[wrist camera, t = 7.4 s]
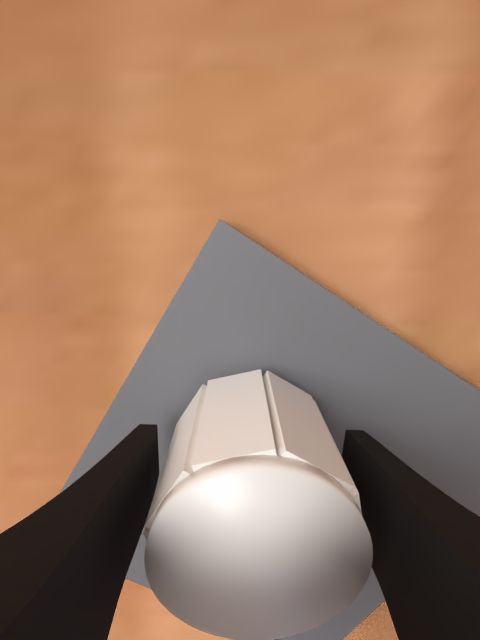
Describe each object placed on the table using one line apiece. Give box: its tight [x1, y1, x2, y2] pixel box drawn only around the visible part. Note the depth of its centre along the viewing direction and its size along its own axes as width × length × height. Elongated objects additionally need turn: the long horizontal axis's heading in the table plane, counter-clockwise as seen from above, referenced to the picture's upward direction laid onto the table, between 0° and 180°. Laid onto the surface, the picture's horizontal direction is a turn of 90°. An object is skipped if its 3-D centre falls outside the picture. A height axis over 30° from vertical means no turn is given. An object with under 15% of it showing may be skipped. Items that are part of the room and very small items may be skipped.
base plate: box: [60, 219, 480, 640], centre depth 13 cm, size 16×16×1 cm
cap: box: [143, 369, 373, 640], centre depth 9 cm, size 5×5×4 cm
